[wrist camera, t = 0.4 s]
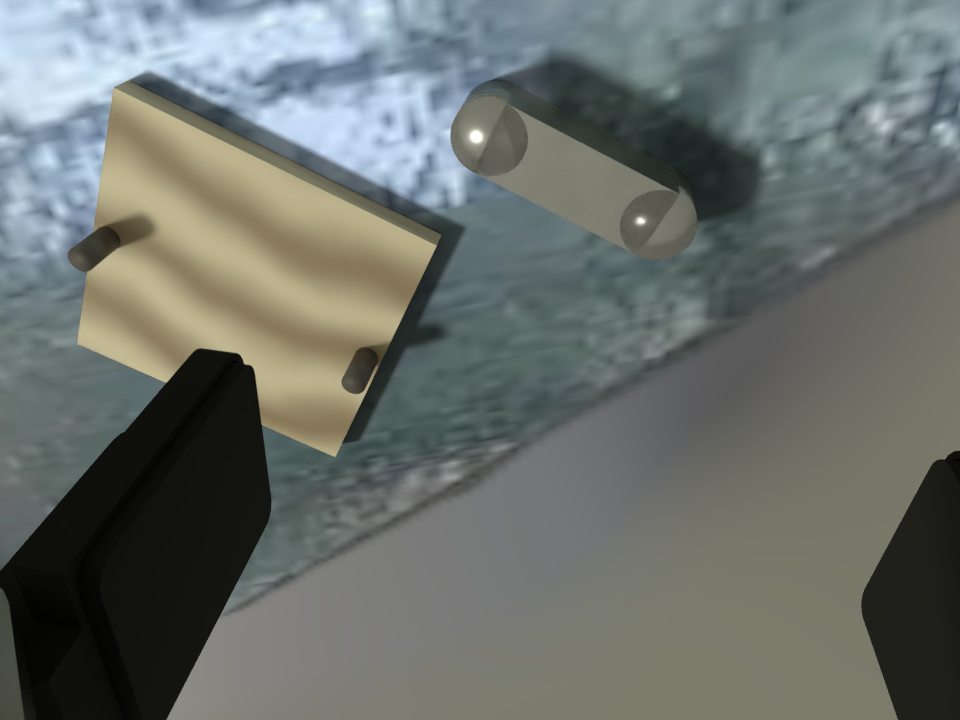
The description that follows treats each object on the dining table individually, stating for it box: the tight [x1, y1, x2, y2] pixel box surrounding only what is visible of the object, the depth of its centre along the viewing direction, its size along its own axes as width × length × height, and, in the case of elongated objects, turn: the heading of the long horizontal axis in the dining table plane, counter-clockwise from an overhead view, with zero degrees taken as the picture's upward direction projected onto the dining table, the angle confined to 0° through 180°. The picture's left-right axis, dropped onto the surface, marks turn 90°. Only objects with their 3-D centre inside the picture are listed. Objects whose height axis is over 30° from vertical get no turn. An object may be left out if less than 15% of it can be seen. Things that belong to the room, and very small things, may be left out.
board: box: [68, 81, 441, 457], centre depth 48 cm, size 20×20×4 cm
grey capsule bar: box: [451, 80, 697, 260], centre depth 40 cm, size 4×14×4 cm, turn 65°
